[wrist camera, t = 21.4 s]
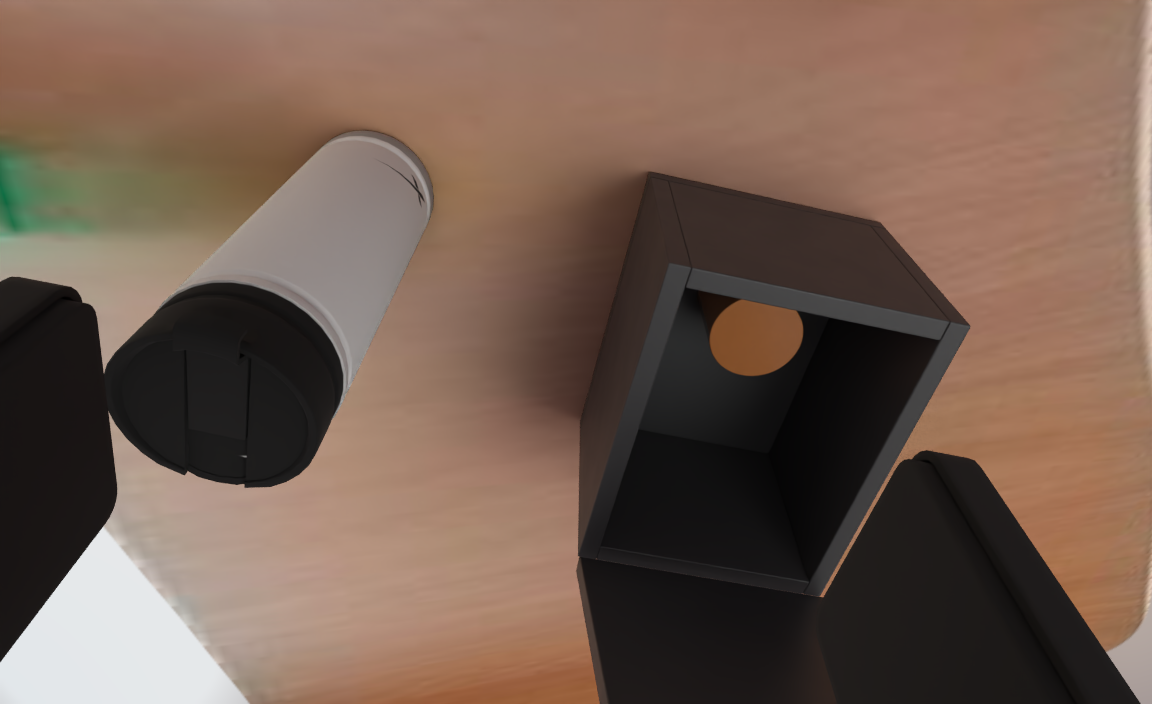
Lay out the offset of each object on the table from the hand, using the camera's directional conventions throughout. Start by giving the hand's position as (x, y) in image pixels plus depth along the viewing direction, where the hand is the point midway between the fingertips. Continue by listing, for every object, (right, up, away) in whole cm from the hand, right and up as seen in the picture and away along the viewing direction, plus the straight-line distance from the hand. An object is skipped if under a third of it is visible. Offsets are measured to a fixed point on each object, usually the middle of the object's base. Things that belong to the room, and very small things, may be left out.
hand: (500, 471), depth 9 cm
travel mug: (-9, +10, +30) cm, 33 cm away
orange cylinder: (+9, +5, +31) cm, 33 cm away
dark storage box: (+9, +3, +34) cm, 35 cm away
